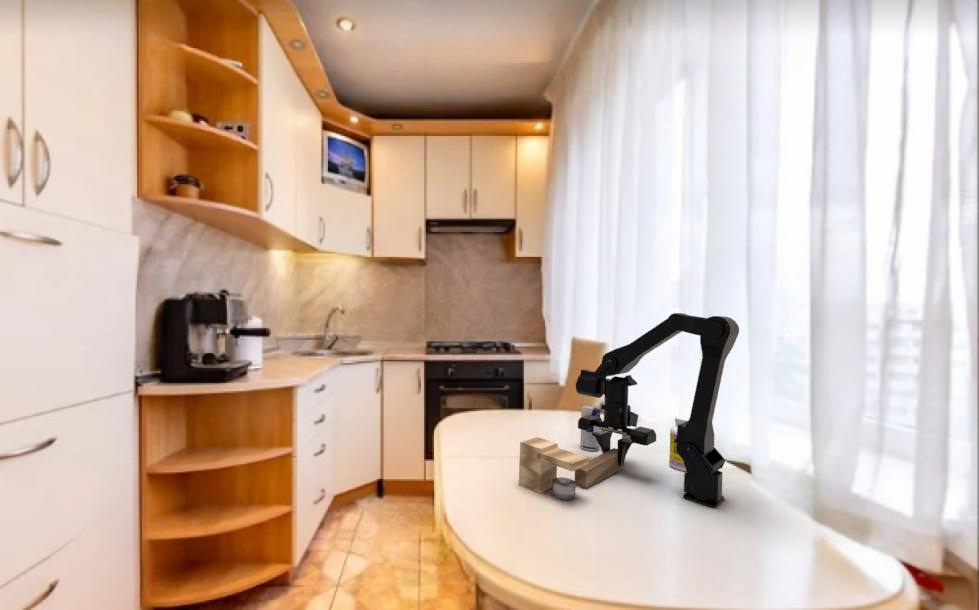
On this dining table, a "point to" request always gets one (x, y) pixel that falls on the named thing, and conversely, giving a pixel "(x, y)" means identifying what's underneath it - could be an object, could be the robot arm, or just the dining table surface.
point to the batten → (598, 469)
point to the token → (563, 489)
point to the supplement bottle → (674, 457)
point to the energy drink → (587, 439)
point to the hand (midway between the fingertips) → (614, 463)
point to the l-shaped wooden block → (545, 463)
